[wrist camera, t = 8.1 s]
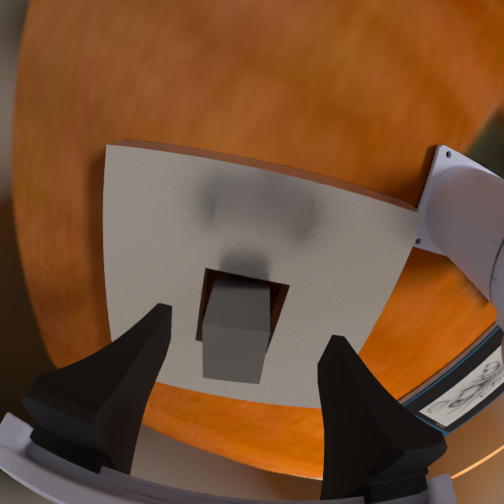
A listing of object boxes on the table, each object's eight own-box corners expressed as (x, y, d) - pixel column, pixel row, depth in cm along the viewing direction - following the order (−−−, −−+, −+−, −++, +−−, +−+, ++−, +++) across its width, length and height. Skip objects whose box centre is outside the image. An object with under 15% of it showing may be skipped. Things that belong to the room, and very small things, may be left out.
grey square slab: (406, 201, 19) (425, 215, 16) (318, 385, 28) (322, 408, 25) (127, 139, 18) (106, 144, 15) (126, 348, 27) (116, 369, 24)
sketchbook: (558, 327, 26) (563, 334, 24) (433, 436, 37) (435, 444, 35) (549, 253, 20) (558, 260, 18) (376, 410, 31) (379, 422, 29)
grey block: (269, 262, 21) (270, 332, 15) (261, 311, 23) (259, 384, 17) (221, 257, 21) (202, 324, 15) (218, 306, 23) (202, 377, 17)
